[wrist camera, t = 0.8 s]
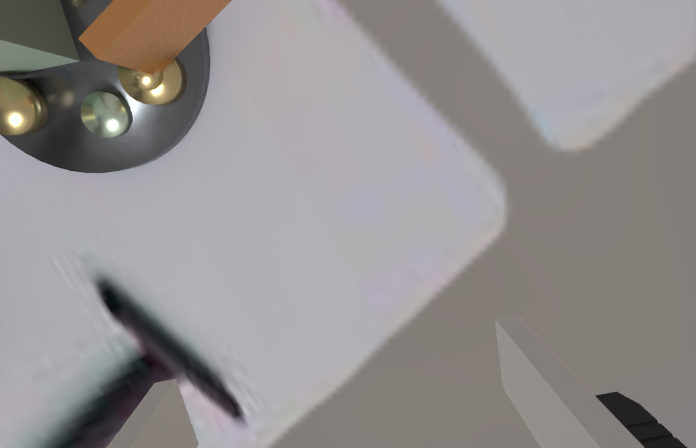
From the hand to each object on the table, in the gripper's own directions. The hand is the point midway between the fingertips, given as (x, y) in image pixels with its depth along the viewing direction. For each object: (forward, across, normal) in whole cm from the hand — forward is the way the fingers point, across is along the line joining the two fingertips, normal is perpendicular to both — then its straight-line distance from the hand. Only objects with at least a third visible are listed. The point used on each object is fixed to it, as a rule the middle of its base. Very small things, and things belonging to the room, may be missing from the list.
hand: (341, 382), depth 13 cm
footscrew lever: (+21, -7, +18) cm, 29 cm away
